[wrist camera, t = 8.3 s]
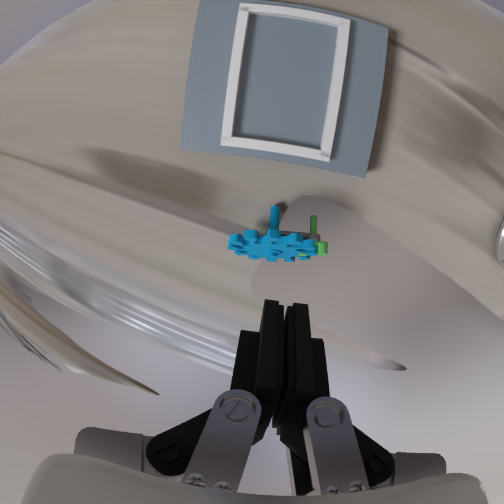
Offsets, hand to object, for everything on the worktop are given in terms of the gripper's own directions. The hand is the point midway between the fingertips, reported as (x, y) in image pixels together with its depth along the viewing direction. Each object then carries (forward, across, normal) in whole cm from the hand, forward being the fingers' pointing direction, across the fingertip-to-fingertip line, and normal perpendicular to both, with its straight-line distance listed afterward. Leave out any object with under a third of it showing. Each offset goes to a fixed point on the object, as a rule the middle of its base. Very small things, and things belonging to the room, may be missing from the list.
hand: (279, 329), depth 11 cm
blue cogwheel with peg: (+24, -1, +9) cm, 26 cm away
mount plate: (+23, +1, -12) cm, 26 cm away
